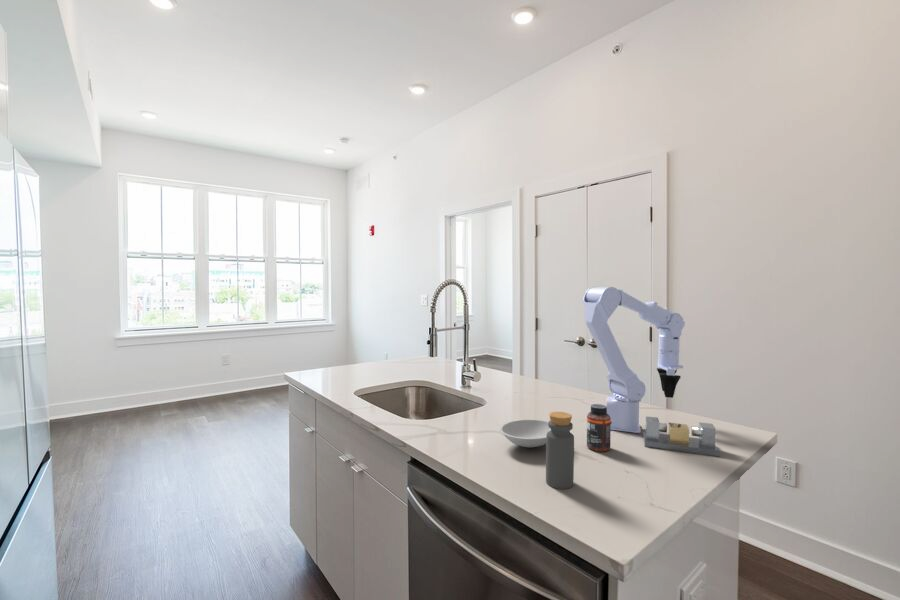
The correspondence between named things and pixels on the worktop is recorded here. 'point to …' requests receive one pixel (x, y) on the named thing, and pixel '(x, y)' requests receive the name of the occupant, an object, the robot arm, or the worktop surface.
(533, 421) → the dish
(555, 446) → the bottle
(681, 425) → the block
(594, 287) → the robot arm
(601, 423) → the supplement bottle
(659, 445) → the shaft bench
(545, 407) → the worktop surface
